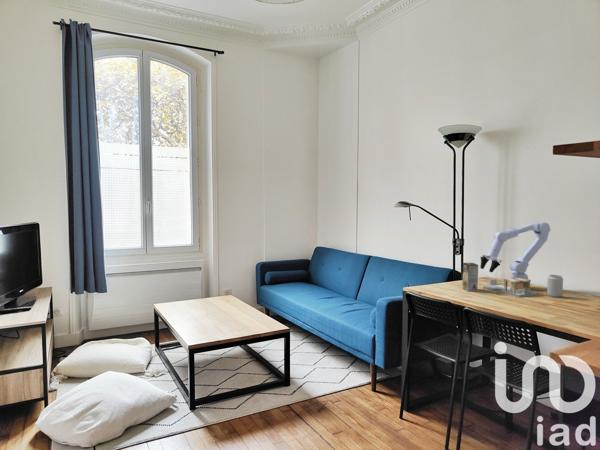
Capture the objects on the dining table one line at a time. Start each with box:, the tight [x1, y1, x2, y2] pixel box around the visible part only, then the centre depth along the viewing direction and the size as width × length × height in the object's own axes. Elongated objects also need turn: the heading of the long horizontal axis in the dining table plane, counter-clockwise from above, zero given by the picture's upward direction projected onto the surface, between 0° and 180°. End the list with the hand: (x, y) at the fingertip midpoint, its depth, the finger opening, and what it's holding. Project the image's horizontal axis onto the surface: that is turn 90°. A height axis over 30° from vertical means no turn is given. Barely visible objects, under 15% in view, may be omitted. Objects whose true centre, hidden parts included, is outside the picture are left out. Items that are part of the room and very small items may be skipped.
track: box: [482, 283, 539, 298], centre depth 253 cm, size 14×27×2 cm, turn 21°
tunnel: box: [503, 278, 531, 293], centre depth 248 cm, size 13×7×7 cm, turn 111°
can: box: [546, 274, 564, 298], centre depth 241 cm, size 8×8×12 cm
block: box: [510, 282, 523, 291], centre depth 248 cm, size 4×4×4 cm
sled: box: [488, 278, 525, 292], centre depth 255 cm, size 5×22×4 cm, turn 21°
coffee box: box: [461, 262, 479, 292], centre depth 258 cm, size 9×6×16 cm
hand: (486, 270), depth 267 cm, fingers open, 7 cm apart
